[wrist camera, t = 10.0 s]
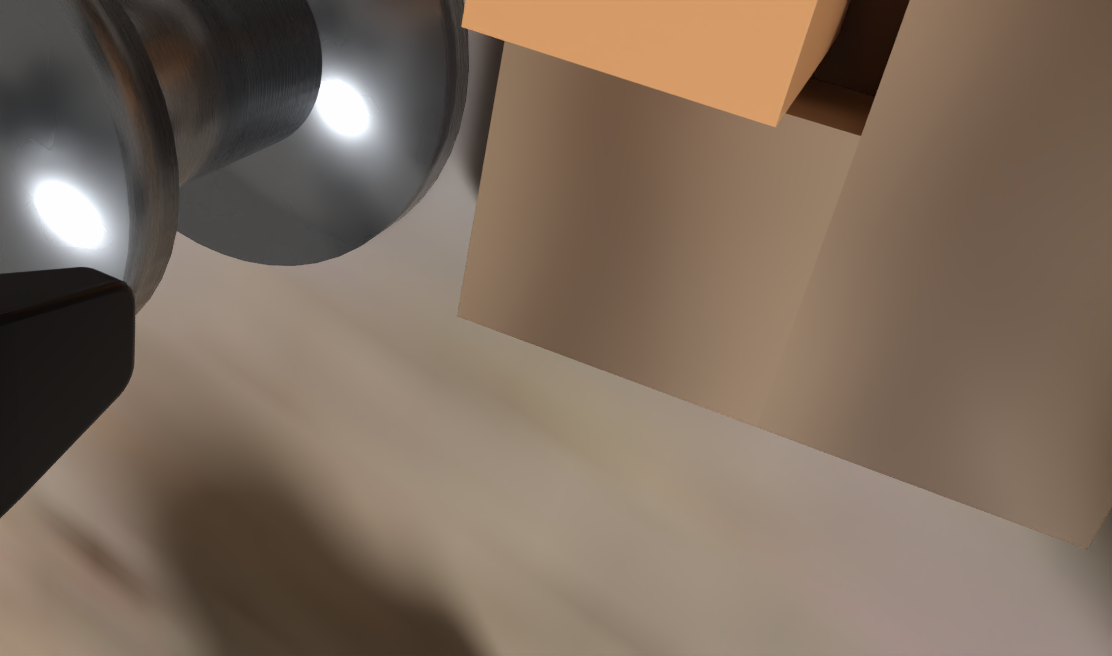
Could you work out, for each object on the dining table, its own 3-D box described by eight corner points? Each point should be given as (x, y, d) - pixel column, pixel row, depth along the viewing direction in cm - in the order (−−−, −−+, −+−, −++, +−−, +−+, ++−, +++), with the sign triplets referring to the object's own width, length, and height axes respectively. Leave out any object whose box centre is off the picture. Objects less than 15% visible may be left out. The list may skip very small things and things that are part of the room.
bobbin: (506, -158, 18) (206, -141, 11) (433, 306, 22) (187, 521, 15) (66, -271, 19) (-422, -317, 13) (81, 175, 24) (-276, 315, 17)
